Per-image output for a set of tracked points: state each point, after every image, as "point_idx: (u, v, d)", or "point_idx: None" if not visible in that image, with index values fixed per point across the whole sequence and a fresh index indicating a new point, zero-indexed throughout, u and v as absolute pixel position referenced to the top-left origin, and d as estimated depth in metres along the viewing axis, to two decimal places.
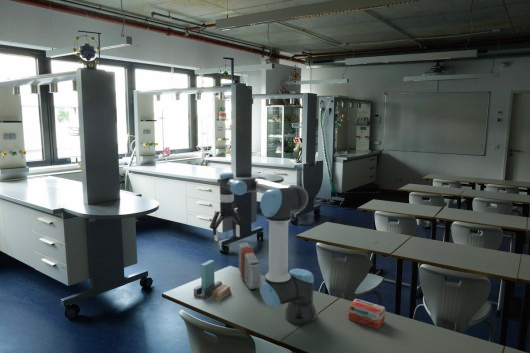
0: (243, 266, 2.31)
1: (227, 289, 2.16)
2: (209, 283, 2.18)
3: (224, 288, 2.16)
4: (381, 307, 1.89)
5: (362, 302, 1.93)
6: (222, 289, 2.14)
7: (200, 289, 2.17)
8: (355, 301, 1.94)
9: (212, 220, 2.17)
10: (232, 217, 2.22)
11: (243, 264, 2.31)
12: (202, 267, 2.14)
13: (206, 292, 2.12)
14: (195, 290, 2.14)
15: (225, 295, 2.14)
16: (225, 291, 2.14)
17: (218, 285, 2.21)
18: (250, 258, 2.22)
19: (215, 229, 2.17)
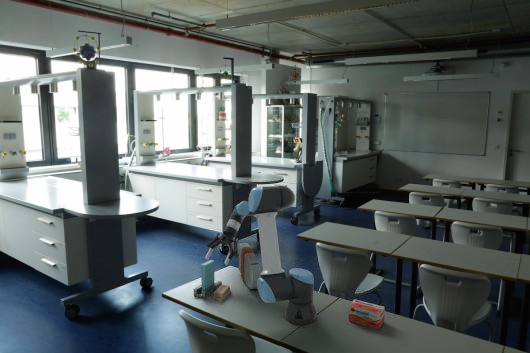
0: (243, 266, 2.31)
1: (227, 289, 2.16)
2: (209, 283, 2.18)
3: (225, 288, 2.15)
4: (381, 307, 1.89)
5: (361, 303, 1.93)
6: (223, 289, 2.14)
7: (200, 289, 2.17)
8: (354, 302, 1.93)
9: None
10: None
11: (243, 264, 2.31)
12: (202, 267, 2.14)
13: (206, 292, 2.12)
14: (195, 290, 2.14)
15: (226, 295, 2.14)
16: (226, 291, 2.14)
17: (218, 285, 2.21)
18: (250, 258, 2.22)
19: (209, 247, 2.31)
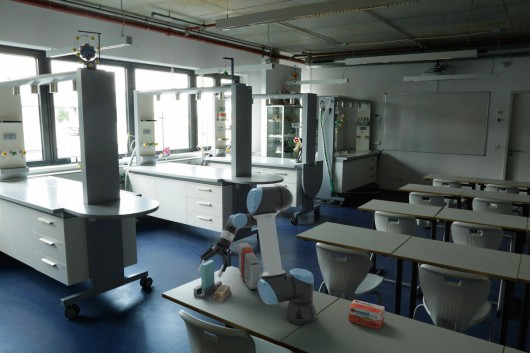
0: (243, 266, 2.31)
1: (227, 289, 2.16)
2: (209, 283, 2.18)
3: (225, 288, 2.15)
4: (381, 307, 1.89)
5: (361, 303, 1.92)
6: (223, 289, 2.14)
7: (200, 289, 2.17)
8: (354, 302, 1.93)
9: None
10: (222, 255, 2.23)
11: (243, 264, 2.31)
12: (202, 267, 2.14)
13: (206, 292, 2.12)
14: (195, 290, 2.14)
15: (226, 295, 2.14)
16: (226, 291, 2.14)
17: (218, 285, 2.21)
18: (250, 258, 2.22)
19: (202, 259, 2.26)
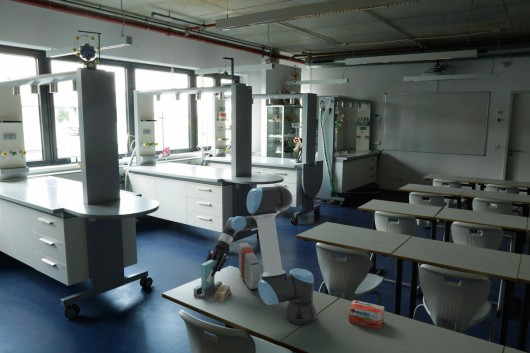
0: (243, 266, 2.31)
1: (228, 289, 2.16)
2: (209, 283, 2.18)
3: (225, 288, 2.15)
4: (381, 307, 1.89)
5: (361, 303, 1.92)
6: (223, 289, 2.14)
7: (200, 289, 2.17)
8: (354, 303, 1.92)
9: (207, 260, 2.26)
10: None
11: (243, 264, 2.31)
12: (202, 267, 2.14)
13: (206, 292, 2.12)
14: (195, 290, 2.14)
15: (227, 295, 2.14)
16: (226, 291, 2.14)
17: (218, 285, 2.21)
18: (250, 258, 2.22)
19: None
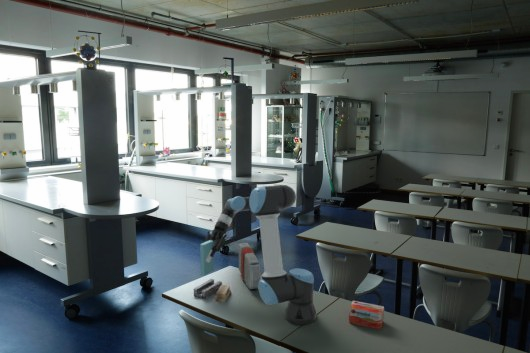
0: (243, 266, 2.31)
1: (228, 289, 2.16)
2: (208, 264, 2.17)
3: (225, 288, 2.15)
4: (381, 307, 1.89)
5: (361, 304, 1.92)
6: (224, 289, 2.13)
7: (200, 289, 2.17)
8: (354, 303, 1.92)
9: None
10: None
11: (243, 264, 2.31)
12: (201, 247, 2.13)
13: (206, 292, 2.12)
14: (195, 290, 2.14)
15: (227, 295, 2.14)
16: (227, 291, 2.14)
17: (218, 285, 2.21)
18: (250, 258, 2.22)
19: None
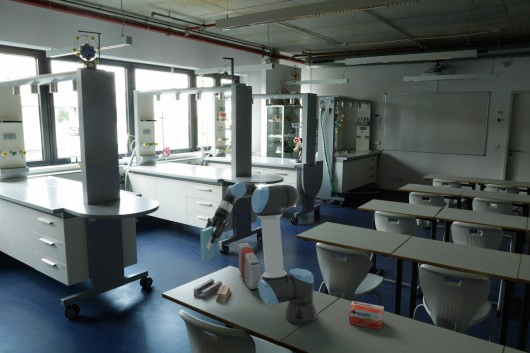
0: (243, 266, 2.31)
1: (228, 289, 2.16)
2: (208, 250, 2.15)
3: (226, 288, 2.15)
4: (381, 307, 1.89)
5: (361, 304, 1.91)
6: (224, 289, 2.13)
7: (200, 289, 2.17)
8: (354, 304, 1.91)
9: None
10: None
11: (243, 264, 2.31)
12: (201, 233, 2.11)
13: (206, 292, 2.12)
14: (195, 290, 2.14)
15: (228, 295, 2.14)
16: (227, 291, 2.14)
17: (218, 285, 2.21)
18: (250, 258, 2.22)
19: None
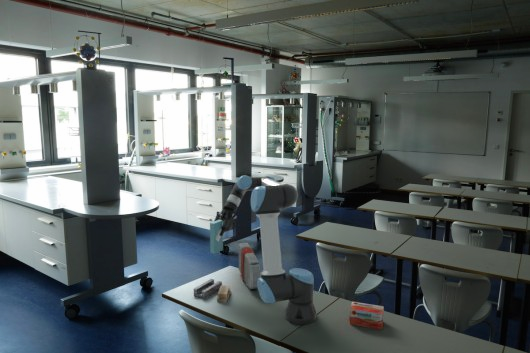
0: (243, 266, 2.31)
1: (228, 289, 2.16)
2: (218, 242, 2.21)
3: (226, 288, 2.15)
4: (381, 307, 1.89)
5: (361, 304, 1.91)
6: (225, 289, 2.13)
7: (200, 289, 2.17)
8: (354, 304, 1.91)
9: None
10: None
11: (243, 264, 2.31)
12: (211, 225, 2.17)
13: (206, 292, 2.12)
14: (195, 290, 2.14)
15: (228, 295, 2.14)
16: (228, 291, 2.14)
17: (218, 285, 2.21)
18: (250, 258, 2.22)
19: None
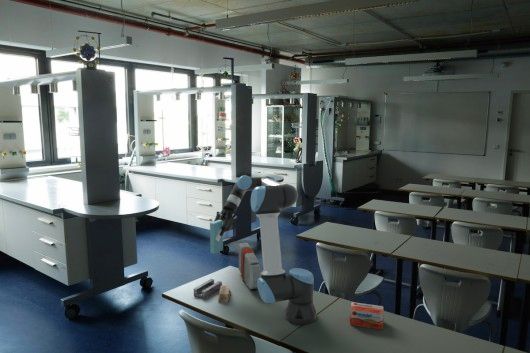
0: (243, 266, 2.31)
1: None
2: (218, 242, 2.21)
3: (226, 288, 2.15)
4: (380, 307, 1.89)
5: (361, 305, 1.90)
6: (225, 290, 2.13)
7: (200, 289, 2.17)
8: (354, 305, 1.90)
9: None
10: None
11: (243, 264, 2.31)
12: (211, 225, 2.17)
13: (206, 292, 2.12)
14: (195, 290, 2.14)
15: (229, 295, 2.14)
16: (228, 291, 2.14)
17: (218, 285, 2.21)
18: (250, 258, 2.22)
19: None
